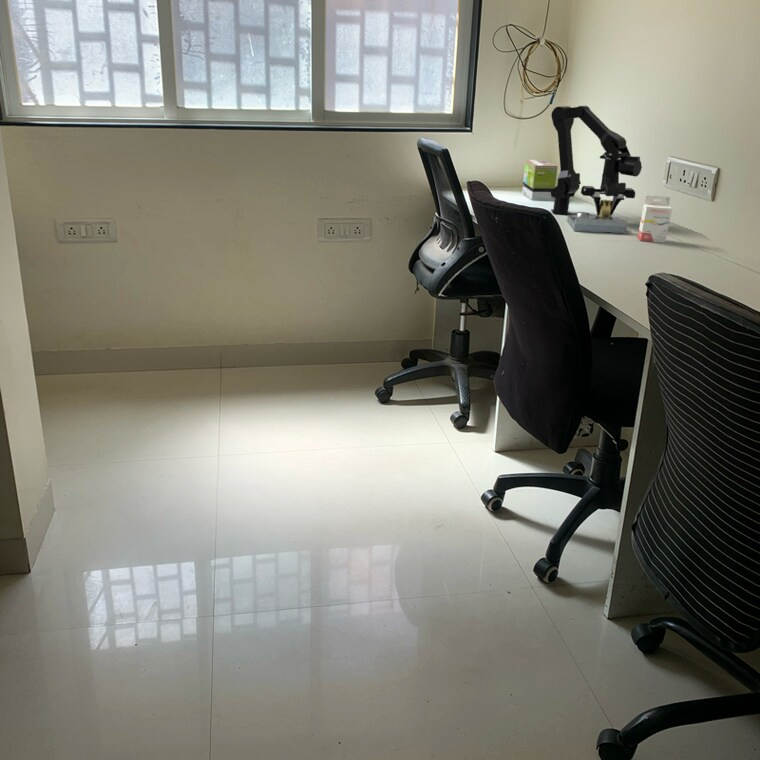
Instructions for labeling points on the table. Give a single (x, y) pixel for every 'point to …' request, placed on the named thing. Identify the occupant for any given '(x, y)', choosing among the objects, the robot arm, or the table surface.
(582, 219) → the jig plate
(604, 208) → the cylinder
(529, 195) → the tea box
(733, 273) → the table surface
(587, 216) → the steel bushing
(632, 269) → the table surface
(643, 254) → the table surface
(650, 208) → the ink cartridge box
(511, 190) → the table surface
